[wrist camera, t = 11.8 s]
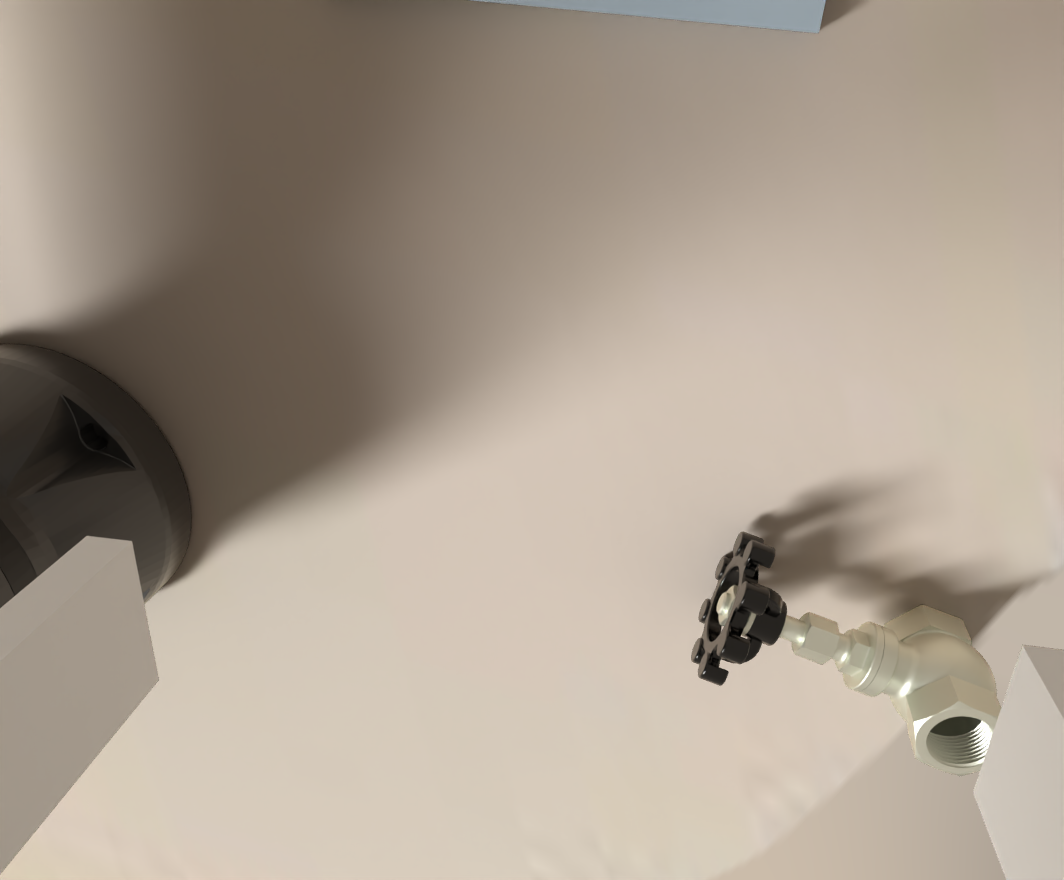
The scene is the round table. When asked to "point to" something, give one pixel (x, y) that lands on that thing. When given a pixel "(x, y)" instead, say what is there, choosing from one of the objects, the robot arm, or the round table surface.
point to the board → (702, 11)
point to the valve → (862, 658)
